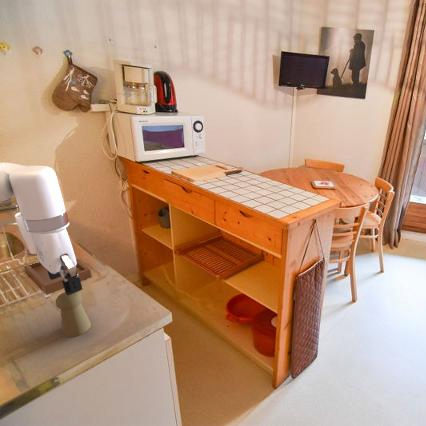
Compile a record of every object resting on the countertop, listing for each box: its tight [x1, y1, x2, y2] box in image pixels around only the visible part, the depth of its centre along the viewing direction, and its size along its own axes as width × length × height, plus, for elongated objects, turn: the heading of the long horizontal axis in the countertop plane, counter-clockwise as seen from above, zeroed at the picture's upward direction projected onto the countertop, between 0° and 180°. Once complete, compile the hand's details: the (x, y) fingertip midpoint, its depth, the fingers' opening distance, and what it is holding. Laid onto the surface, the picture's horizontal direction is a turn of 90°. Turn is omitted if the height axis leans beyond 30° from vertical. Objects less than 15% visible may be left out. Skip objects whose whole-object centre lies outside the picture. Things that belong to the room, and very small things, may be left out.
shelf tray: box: [23, 256, 93, 295], centre depth 103 cm, size 18×12×3 cm, turn 55°
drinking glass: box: [14, 211, 37, 256], centre depth 112 cm, size 7×7×15 cm
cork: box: [55, 291, 92, 338], centre depth 81 cm, size 6×6×11 cm
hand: (66, 284), depth 78 cm, fingers open, 9 cm apart
